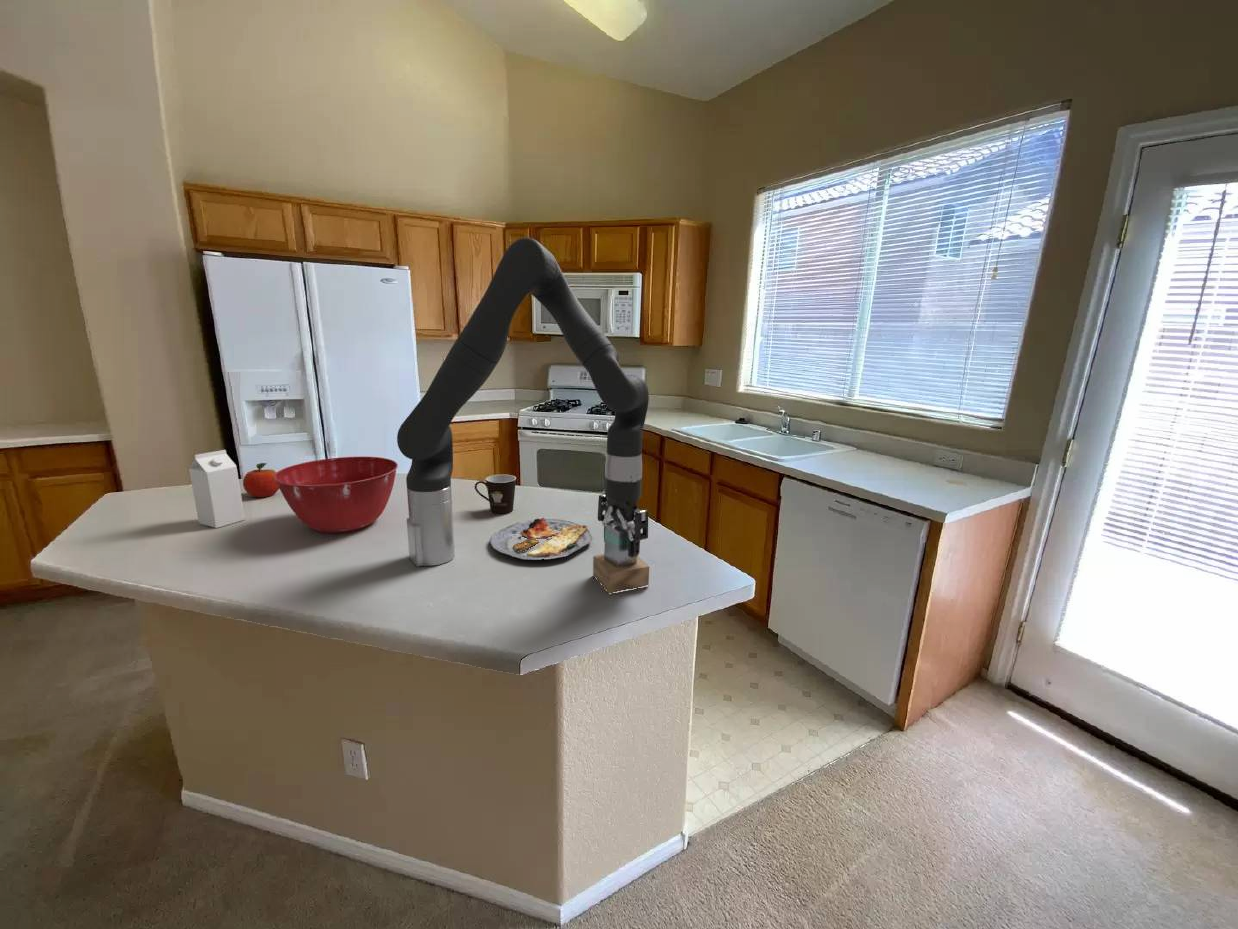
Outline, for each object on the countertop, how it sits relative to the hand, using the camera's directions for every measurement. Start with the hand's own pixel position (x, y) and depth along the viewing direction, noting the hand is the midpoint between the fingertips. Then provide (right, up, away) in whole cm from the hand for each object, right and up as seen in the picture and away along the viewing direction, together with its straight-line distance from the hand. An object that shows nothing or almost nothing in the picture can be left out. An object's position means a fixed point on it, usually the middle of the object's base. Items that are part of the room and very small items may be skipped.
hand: (620, 549), depth 106 cm
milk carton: (-106, +2, +27) cm, 109 cm away
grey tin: (0, -3, +1) cm, 3 cm away
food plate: (-20, -2, +20) cm, 28 cm away
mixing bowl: (-74, +2, +29) cm, 79 cm away
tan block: (0, -7, +2) cm, 8 cm away
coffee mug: (-36, +4, +43) cm, 57 cm away
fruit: (-110, +8, +49) cm, 121 cm away
